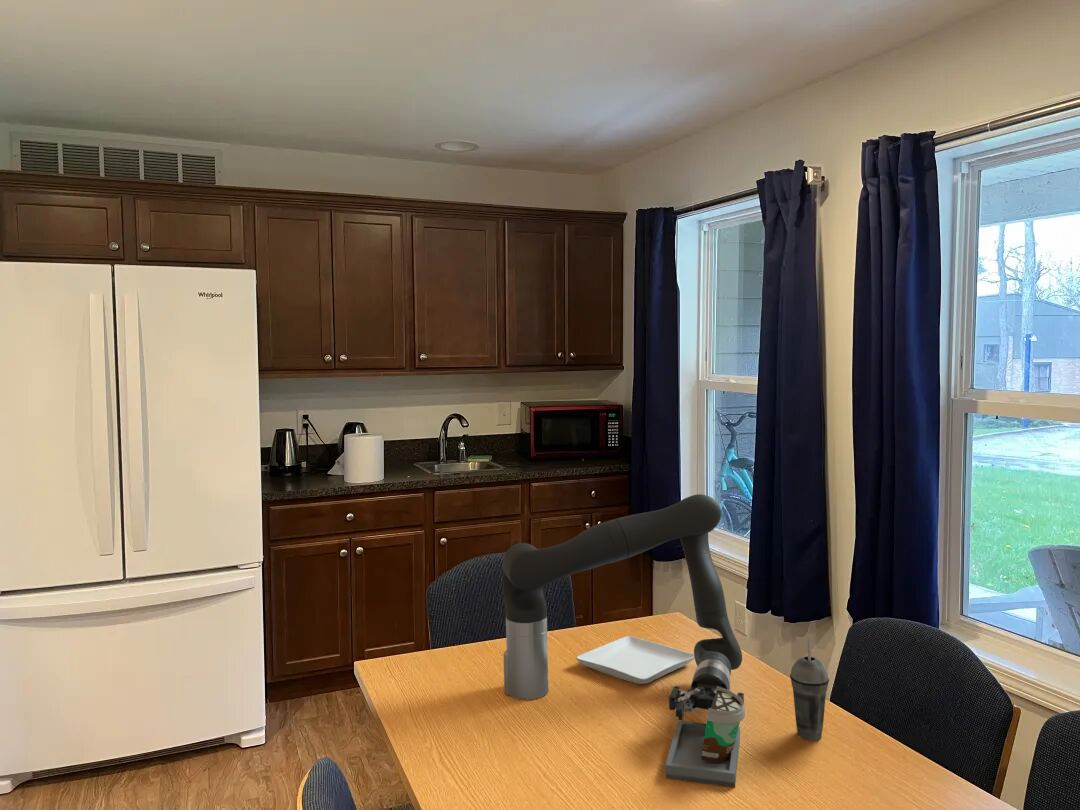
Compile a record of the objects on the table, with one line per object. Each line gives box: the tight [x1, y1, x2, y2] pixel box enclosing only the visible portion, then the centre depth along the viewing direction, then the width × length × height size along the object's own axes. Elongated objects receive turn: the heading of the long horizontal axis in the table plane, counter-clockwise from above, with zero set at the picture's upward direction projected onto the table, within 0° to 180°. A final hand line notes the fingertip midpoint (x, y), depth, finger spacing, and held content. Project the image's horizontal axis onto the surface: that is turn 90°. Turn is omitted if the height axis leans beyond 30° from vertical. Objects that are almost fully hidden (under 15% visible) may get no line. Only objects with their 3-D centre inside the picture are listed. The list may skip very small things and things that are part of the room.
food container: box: [701, 686, 746, 762], centre depth 147 cm, size 12×6×10 cm, turn 160°
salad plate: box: [576, 635, 695, 685], centre depth 192 cm, size 21×21×3 cm
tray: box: [665, 719, 741, 788], centre depth 148 cm, size 12×18×2 cm, turn 163°
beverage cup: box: [789, 636, 830, 742], centre depth 155 cm, size 7×7×20 cm
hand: (703, 718), depth 148 cm, fingers open, 8 cm apart
